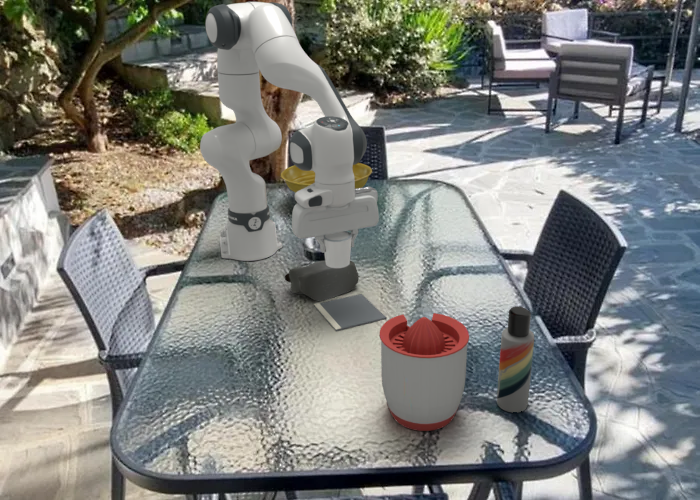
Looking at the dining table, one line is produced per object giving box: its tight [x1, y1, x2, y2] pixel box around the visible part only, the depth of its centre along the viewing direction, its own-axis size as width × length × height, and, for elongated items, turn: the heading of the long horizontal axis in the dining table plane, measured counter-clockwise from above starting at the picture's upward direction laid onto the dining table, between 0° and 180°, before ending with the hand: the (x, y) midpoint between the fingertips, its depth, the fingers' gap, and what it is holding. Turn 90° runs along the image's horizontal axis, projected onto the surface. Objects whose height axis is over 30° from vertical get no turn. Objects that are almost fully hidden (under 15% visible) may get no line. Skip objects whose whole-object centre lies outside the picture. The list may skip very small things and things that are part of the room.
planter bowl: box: [280, 162, 373, 194], centre depth 226 cm, size 32×32×13 cm
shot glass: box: [321, 231, 352, 268], centre depth 147 cm, size 7×7×7 cm
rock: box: [284, 260, 359, 302], centre depth 166 cm, size 18×11×8 cm, turn 122°
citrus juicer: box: [379, 312, 470, 432], centre depth 115 cm, size 16×17×20 cm
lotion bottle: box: [496, 305, 535, 413], centre depth 116 cm, size 6×6×20 cm
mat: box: [313, 293, 387, 332], centre depth 155 cm, size 14×13×1 cm
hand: (337, 249), depth 147 cm, fingers closed on shot glass, 5 cm apart
